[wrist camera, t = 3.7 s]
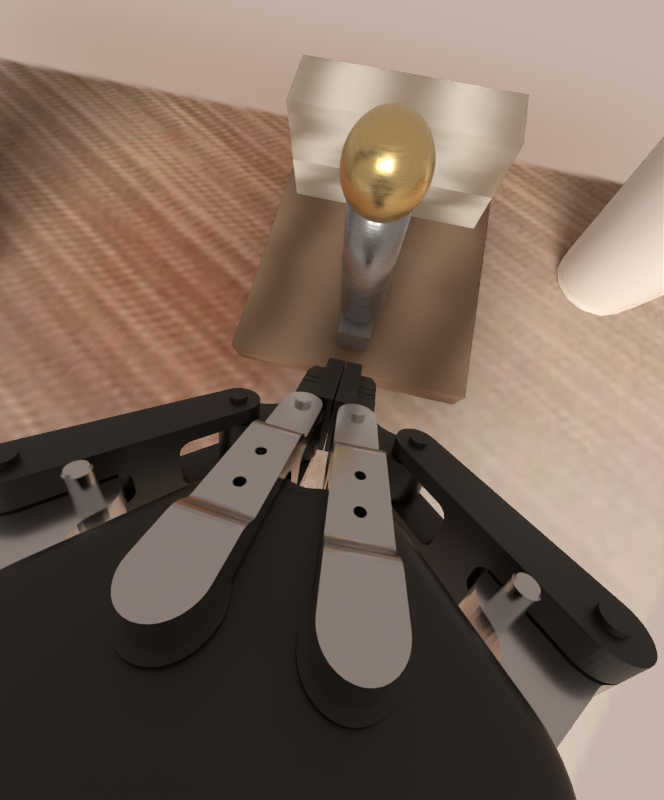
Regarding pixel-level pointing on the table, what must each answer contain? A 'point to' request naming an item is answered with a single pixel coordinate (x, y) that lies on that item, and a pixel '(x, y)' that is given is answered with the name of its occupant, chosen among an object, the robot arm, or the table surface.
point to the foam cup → (621, 247)
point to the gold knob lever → (378, 208)
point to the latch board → (423, 243)
